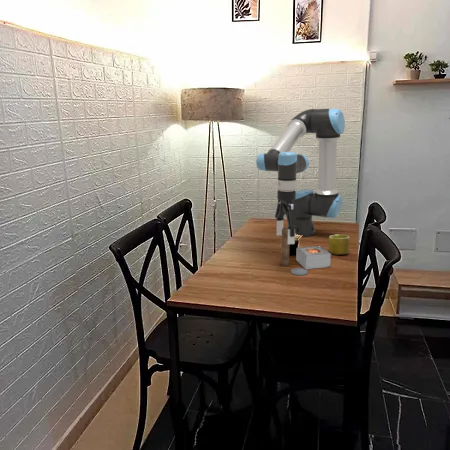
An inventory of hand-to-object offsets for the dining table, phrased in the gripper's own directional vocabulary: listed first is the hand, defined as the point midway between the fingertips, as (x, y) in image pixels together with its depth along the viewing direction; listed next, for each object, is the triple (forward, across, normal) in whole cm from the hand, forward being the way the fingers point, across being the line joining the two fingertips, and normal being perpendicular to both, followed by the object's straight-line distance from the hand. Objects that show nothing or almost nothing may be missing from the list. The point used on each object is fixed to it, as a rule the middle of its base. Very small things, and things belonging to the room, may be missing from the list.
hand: (285, 239), depth 186 cm
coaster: (+12, +10, +3) cm, 15 cm away
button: (+8, +2, +12) cm, 15 cm away
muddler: (+12, 0, 0) cm, 12 cm away
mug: (+11, -10, +30) cm, 34 cm away
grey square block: (+11, +2, +12) cm, 17 cm away
